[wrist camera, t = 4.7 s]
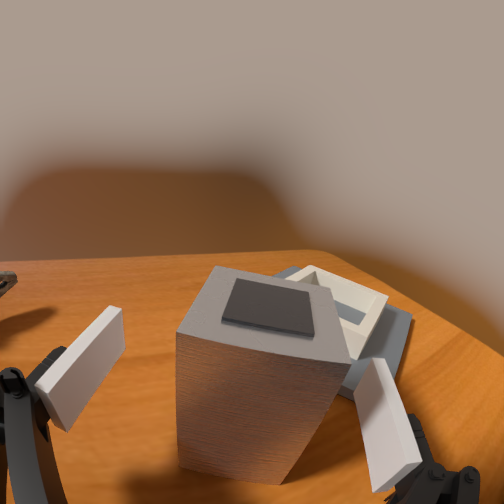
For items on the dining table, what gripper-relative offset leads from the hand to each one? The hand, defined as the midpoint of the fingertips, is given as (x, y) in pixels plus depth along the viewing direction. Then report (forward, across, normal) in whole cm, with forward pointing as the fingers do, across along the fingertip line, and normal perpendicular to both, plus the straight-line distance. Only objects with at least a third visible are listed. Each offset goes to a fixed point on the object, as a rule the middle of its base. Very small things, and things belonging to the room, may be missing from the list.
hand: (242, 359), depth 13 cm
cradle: (+15, +8, -6) cm, 18 cm away
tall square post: (-1, +1, -6) cm, 6 cm away
